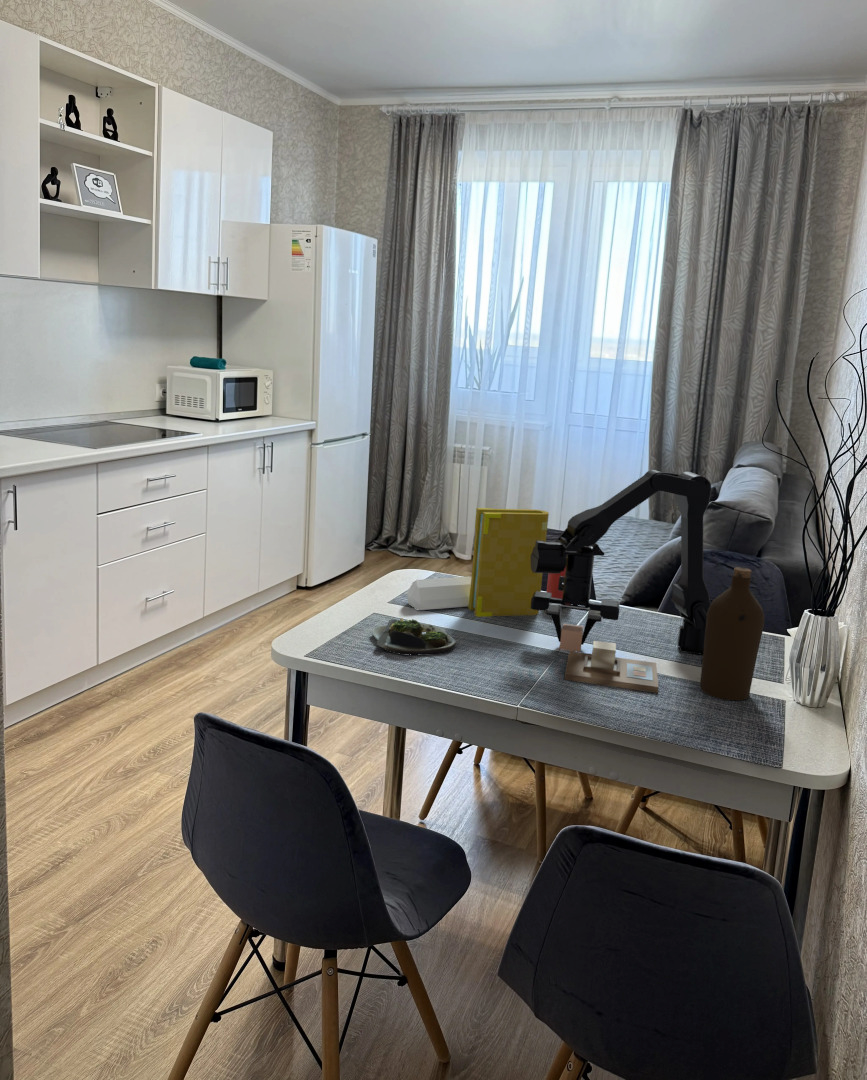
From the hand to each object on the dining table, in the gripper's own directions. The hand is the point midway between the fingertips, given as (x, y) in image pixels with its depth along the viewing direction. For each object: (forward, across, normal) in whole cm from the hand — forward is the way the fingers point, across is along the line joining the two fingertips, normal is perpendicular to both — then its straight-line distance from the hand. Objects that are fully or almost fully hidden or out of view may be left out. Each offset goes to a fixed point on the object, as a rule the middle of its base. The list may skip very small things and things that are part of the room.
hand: (571, 642), depth 195 cm
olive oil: (+1, -31, +14) cm, 34 cm away
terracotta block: (+1, 0, 0) cm, 1 cm away
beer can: (+1, +5, -32) cm, 32 cm away
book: (+1, +17, -20) cm, 26 cm away
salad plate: (+2, +33, +11) cm, 35 cm away
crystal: (+2, +31, -20) cm, 37 cm away
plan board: (+1, -9, +13) cm, 16 cm away
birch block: (0, -7, +13) cm, 15 cm away
